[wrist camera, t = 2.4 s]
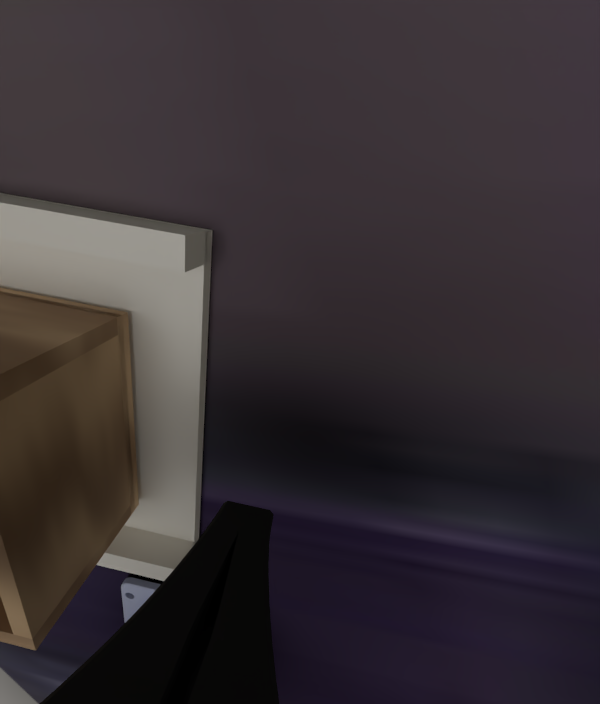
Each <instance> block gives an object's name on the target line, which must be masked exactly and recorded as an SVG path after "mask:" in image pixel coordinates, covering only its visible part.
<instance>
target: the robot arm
mask: <svg viewBox="0 0 600 704" xmlns="http://www.w3.org/2000/svg"><path fill="white" fill-rule="evenodd" d="M272 520H273V513H272V512H271V511H270V510H266V509H262V508H257V507H253V506H248V505H244V504H239V503H235V502H231V501H227V502H225V503H224V504H223V505H222V507H221V509H220V510H219V512H218V513H217V515H216V516H215V518H214V519H213V520H212V522H211V523H210V525H209V526H208V527H207V529H206V530H205V531H204V533H203V534H202V535H201V537H200V538H199V539H198V541H197V542H196V543H195V545H194V546H193V547H192V548H191V549H190V551H189V552H188V553H187V554H186V556H185V557H184V558H183V559H182V560H181V562H180V563H179V564H178V565H177V567H176V568H175V569H174V570H173V571H172V573H171V574H170V575H169V576H168V577H167V578H166V579H165V581H164V582H163V583H162V584H158V583H154V582H150V581H146V580H141V579H137V578H133V577H128V578H126V579H125V580H124V582H123V583H122V585H121V592H122V602H123V612H124V622H125V624H124V625H123V626H122V627H121V628H120V629H119V630H118V631H117V632H116V633H115V634H114V635H113V636H112V637H111V638H110V639H109V640H108V641H107V642H106V643H105V644H104V645H103V646H102V647H101V648H100V649H99V650H98V651H97V652H96V653H95V654H93V655H92V656H91V657H90V658H89V659H88V660H87V661H86V662H85V663H84V664H83V665H82V666H81V667H80V668H78V669H77V670H76V671H75V672H74V673H73V674H72V675H71V676H70V677H69V678H68V679H67V680H66V681H65V682H63V683H62V684H61V685H60V686H59V687H58V688H57V689H56V690H55V691H54V692H52V693H51V694H50V695H49V696H48V697H47V698H46V699H45V700H44V701H42V702H41V703H40V704H279V699H278V691H277V683H276V675H275V666H274V657H273V647H272V635H271V623H270V607H269V579H268V559H269V539H270V532H271V526H272Z"/></svg>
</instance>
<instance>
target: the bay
mask: <svg viewBox="0 0 600 704" xmlns="http://www.w3.org/2000/svg"><path fill="white" fill-rule="evenodd" d="M212 232H213V230H209V229H203V228H197V227H192V226H186V225H180V224H175V223H169V222H163V221H158V220H152V219H146V218H141V217H135V216H129V215H124V214H118V213H112V212H106V211H101V210H95V209H89V208H84V207H78V206H72V205H67V204H61V203H55V202H50V201H44V200H38V199H32V198H27V197H21V196H15V195H10V194H4V193H0V288H5V289H10V290H15V291H21V292H26V293H31V294H36V295H41V296H46V297H52V298H57V299H62V300H67V301H72V302H77V303H83V304H88V305H93V306H98V307H103V308H108V309H113V310H119V311H124V312H128V324H129V341H130V358H131V376H132V393H133V410H134V427H135V445H136V462H137V479H138V496H139V505H138V506H137V508H136V509H135V510H134V512H133V513H132V515H131V516H130V518H129V519H128V520H127V522H126V523H125V525H124V526H123V527H122V529H121V530H120V532H119V533H118V535H117V536H116V537H115V539H114V540H113V542H112V543H111V544H110V546H109V547H108V549H107V550H106V552H105V553H104V554H103V556H102V557H101V559H100V560H99V562H98V563H97V564H96V565H99V566H103V567H107V568H111V569H116V570H120V571H124V572H128V573H132V574H136V575H140V576H144V577H149V578H153V579H157V580H161V581H165V579H166V578H167V577H168V576H169V575H170V574H171V573H172V571H173V570H174V569H175V568H176V567H177V565H178V564H179V563H180V562H181V560H182V559H183V558H184V557H185V556H186V554H187V553H188V552H189V551H190V549H191V548H192V547H193V546H194V545H195V543H196V542H197V541H198V539H199V527H200V504H201V482H202V459H203V436H204V414H205V391H206V368H207V345H208V323H209V300H210V277H211V255H212Z"/></svg>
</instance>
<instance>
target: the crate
mask: <svg viewBox="0 0 600 704" xmlns="http://www.w3.org/2000/svg"><path fill="white" fill-rule="evenodd" d="M138 505H139V496H138V479H137V462H136V445H135V427H134V410H133V393H132V376H131V358H130V341H129V324H128V312H124V311H119V310H113V309H108V308H103V307H98V306H93V305H88V304H83V303H77V302H72V301H67V300H62V299H57V298H52V297H46V296H41V295H36V294H31V293H26V292H21V291H15V290H10V289H5V288H0V641H1V642H5V643H9V644H13V645H17V646H21V647H24V648H28V649H32V650H37V648H38V647H39V645H40V644H41V642H42V641H43V640H44V638H45V637H46V635H47V634H48V633H49V631H50V630H51V628H52V627H53V625H54V624H55V623H56V621H57V620H58V618H59V617H60V615H61V614H62V613H63V611H64V610H65V608H66V607H67V606H68V604H69V603H70V601H71V600H72V598H73V597H74V596H75V594H76V593H77V591H78V590H79V589H80V587H81V586H82V584H83V583H84V581H85V580H86V579H87V577H88V576H89V574H90V573H91V571H92V570H93V569H94V567H95V566H96V564H97V563H98V562H99V560H100V559H101V557H102V556H103V554H104V553H105V552H106V550H107V549H108V547H109V546H110V544H111V543H112V542H113V540H114V539H115V537H116V536H117V535H118V533H119V532H120V530H121V529H122V527H123V526H124V525H125V523H126V522H127V520H128V519H129V518H130V516H131V515H132V513H133V512H134V510H135V509H136V508H137V506H138Z"/></svg>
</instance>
